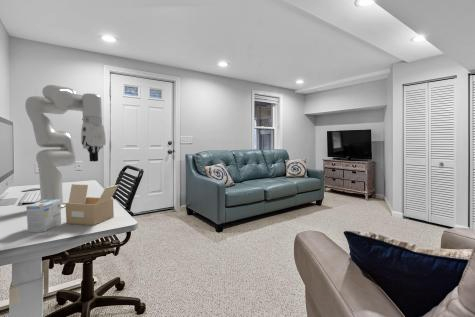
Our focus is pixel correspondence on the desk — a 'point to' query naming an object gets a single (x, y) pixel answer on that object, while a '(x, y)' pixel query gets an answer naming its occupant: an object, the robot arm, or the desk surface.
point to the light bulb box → (43, 215)
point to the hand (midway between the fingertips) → (93, 161)
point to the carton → (89, 212)
